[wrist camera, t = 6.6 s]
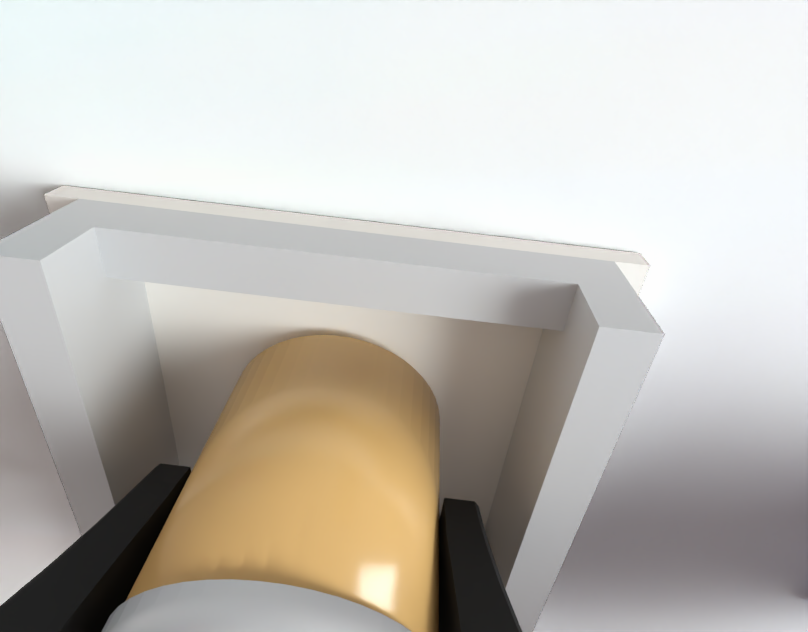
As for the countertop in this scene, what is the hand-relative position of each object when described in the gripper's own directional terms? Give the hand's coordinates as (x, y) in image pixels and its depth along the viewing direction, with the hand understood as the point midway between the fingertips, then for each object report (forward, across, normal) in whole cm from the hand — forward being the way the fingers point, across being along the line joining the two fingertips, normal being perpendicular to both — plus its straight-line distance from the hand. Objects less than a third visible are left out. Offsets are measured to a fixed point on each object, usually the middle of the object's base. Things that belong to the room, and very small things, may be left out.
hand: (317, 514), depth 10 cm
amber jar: (+2, 0, 0) cm, 2 cm away
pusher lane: (+3, 0, +6) cm, 7 cm away
